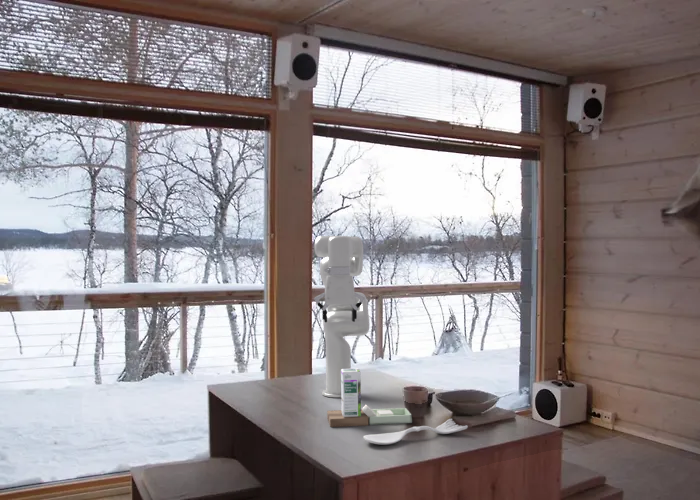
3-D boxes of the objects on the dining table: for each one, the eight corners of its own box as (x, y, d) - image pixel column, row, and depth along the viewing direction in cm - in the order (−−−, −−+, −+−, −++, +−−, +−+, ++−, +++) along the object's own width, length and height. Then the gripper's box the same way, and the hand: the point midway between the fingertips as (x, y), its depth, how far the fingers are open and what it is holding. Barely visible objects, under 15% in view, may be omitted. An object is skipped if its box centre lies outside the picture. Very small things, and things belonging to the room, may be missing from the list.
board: (327, 418, 207) (327, 410, 207) (363, 416, 208) (363, 409, 208) (330, 427, 197) (330, 419, 197) (368, 425, 198) (368, 417, 198)
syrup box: (343, 417, 198) (342, 371, 198) (341, 412, 204) (340, 367, 204) (361, 417, 199) (360, 371, 199) (358, 412, 205) (358, 367, 204)
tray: (365, 417, 208) (365, 409, 208) (405, 415, 210) (405, 407, 209) (369, 424, 199) (369, 416, 199) (412, 423, 201) (411, 415, 201)
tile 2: (390, 409, 207) (390, 415, 207) (376, 410, 206) (376, 416, 206) (393, 413, 203) (393, 419, 203) (379, 414, 202) (379, 420, 202)
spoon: (468, 436, 187) (468, 424, 187) (372, 451, 174) (372, 438, 174) (451, 428, 196) (451, 417, 196) (358, 442, 182) (358, 430, 182)
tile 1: (361, 408, 204) (365, 404, 204) (371, 417, 205) (375, 413, 205) (364, 412, 200) (368, 408, 200) (374, 421, 200) (378, 417, 200)
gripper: (315, 272, 213) (315, 323, 213) (365, 272, 215) (366, 322, 215) (313, 271, 220) (313, 320, 221) (362, 271, 223) (362, 319, 223)
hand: (339, 321), depth 218 cm, fingers open, 9 cm apart
